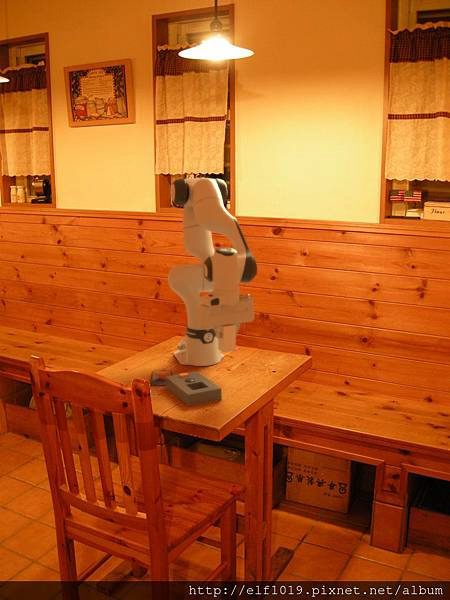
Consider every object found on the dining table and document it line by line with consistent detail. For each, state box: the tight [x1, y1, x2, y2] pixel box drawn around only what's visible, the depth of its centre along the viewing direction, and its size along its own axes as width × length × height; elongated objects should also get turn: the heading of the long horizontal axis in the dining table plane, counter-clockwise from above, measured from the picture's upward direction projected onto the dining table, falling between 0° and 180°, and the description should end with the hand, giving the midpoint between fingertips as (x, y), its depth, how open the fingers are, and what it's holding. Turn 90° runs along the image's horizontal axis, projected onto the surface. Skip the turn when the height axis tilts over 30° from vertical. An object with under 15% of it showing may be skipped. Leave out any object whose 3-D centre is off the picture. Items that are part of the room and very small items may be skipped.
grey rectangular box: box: [165, 370, 222, 407], centre depth 212 cm, size 20×12×5 cm, turn 27°
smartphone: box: [150, 369, 173, 387], centre depth 227 cm, size 7×15×1 cm, turn 4°
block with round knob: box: [218, 324, 237, 353], centre depth 211 cm, size 4×4×10 cm
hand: (226, 337), depth 211 cm, fingers closed on block with round knob, 4 cm apart
